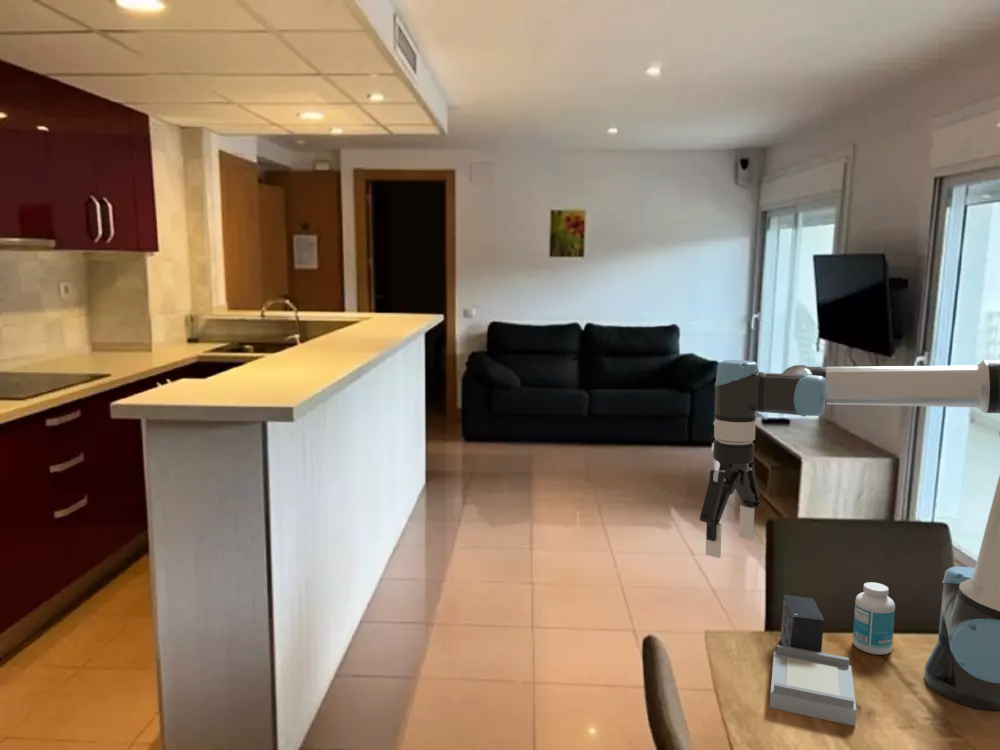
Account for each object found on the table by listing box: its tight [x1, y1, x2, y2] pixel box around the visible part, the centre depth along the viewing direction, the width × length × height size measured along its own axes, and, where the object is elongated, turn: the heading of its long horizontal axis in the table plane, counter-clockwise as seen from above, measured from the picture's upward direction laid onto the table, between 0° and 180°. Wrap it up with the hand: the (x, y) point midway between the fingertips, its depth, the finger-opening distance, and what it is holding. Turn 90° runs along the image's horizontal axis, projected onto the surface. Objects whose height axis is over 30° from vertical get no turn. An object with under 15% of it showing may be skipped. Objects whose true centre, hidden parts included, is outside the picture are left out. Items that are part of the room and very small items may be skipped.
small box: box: [779, 594, 825, 653], centre depth 151 cm, size 11×6×10 cm, turn 168°
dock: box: [769, 644, 857, 727], centre depth 137 cm, size 14×16×4 cm
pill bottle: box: [852, 581, 896, 656], centre depth 154 cm, size 8×7×14 cm
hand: (730, 546), depth 144 cm, fingers open, 13 cm apart
